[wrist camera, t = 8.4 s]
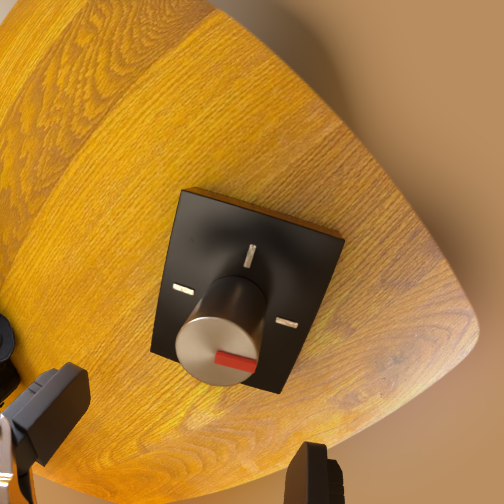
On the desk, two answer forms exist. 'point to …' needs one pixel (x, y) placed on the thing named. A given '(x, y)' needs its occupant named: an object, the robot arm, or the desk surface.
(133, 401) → the desk surface
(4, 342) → the film camera
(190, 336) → the hob knob
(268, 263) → the hob panel
